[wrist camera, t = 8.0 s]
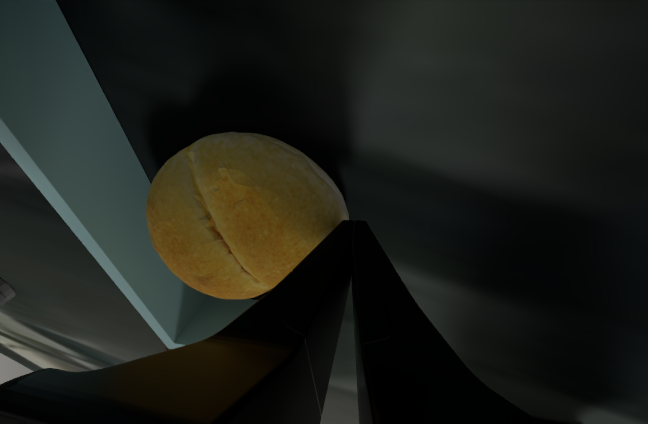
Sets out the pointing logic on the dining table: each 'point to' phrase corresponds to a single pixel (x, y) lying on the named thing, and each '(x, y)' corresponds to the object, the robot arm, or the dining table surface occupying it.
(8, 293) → the beverage cup
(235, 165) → the bread roll
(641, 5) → the dining table surface
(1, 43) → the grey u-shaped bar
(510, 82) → the dining table surface
